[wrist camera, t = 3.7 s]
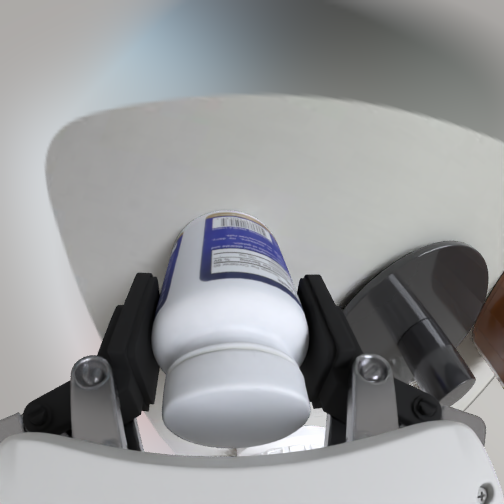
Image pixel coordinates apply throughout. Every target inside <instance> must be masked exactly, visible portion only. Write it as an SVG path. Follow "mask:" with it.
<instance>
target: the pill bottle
mask: <svg viewBox="0 0 504 504" xmlns="http://www.w3.org/2000/svg"><path fill="white" fill-rule="evenodd" d="M151 343H152V350H153V354H154V357H155V359H156V361H157V363H158V365H159V366H160V368H161V369H162V371H163V372H164V373H165V374H166V379H165V386H164V394H163V405H162V418H163V421H164V424H165V426H166V427H167V428H168V429H169V430H170V431H171V432H172V433H173V434H175V435H176V436H178V437H180V438H182V439H184V440H186V441H189V442H192V443H195V444H199V445H203V446H208V447H216V448H247V447H254V446H260V445H265V444H269V443H272V442H275V441H278V440H281V439H283V438H285V437H287V436H289V435H291V434H293V433H294V432H296V431H297V430H298V429H300V428H301V427H302V426H303V425H304V424H305V423H306V421H307V420H308V418H309V415H310V403H309V399H308V394H307V390H306V386H305V380H304V376H303V374H302V372H301V371H300V369H299V367H300V366H301V364H302V363H303V361H304V359H305V357H306V354H307V351H308V347H309V329H308V324H307V321H306V317H305V314H304V311H303V308H302V306H301V303H300V300H299V298H298V295H297V292H296V290H295V287H294V284H293V282H292V279H291V277H290V274H289V271H288V269H287V266H286V264H285V261H284V259H283V256H282V254H281V251H280V249H279V246H278V244H277V242H276V240H275V238H274V236H273V234H272V233H271V231H270V230H269V229H268V228H267V227H266V225H264V224H263V223H262V222H261V221H259V220H258V219H256V218H255V217H253V216H251V215H248V214H246V213H242V212H239V211H232V210H222V211H215V212H211V213H207V214H205V215H202V216H200V217H198V218H196V219H194V220H193V221H192V222H190V223H189V224H188V225H187V226H186V227H185V228H184V229H183V230H182V231H181V233H180V234H179V236H178V238H177V240H176V242H175V244H174V247H173V250H172V253H171V257H170V260H169V264H168V267H167V271H166V275H165V278H164V282H163V286H162V290H161V293H160V297H159V301H158V305H157V309H156V313H155V317H154V321H153V327H152V336H151Z"/></svg>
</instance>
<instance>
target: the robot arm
mask: <svg viewBox="0 0 504 504" xmlns="http://www.w3.org/2000/svg"><path fill="white" fill-rule="evenodd" d="M297 295H298V298H299V300H300V303H301V306H302V308H303V311H304V314H305V317H306V321H307V324H308V329H309V347H308V351H307V354H306V357H305V359H304V361H303V363H302V364H301V366H300V367H299V369H300V371H301V372H302V374H303V376H304V380H305V386H306V390H307V394H308V399H309V402H312V405H313V408H314V409H316V408H322V409H323V411H324V412H326V413H327V420H326V430H325V440H324V447H322V448H316V449H310V450H303V451H296V452H288V453H279V454H269V455H256V456H233V457H204V456H182V455H167V454H157V453H149V452H144V449H143V445H142V441H141V437H140V433H139V429H138V424H137V419H136V417H138V416H139V415H141V411H148V412H149V405H150V404H154V402H155V395H156V388H157V381H158V375H159V369H160V366H159V365H158V363H157V361H156V359H155V357H154V354H153V350H152V343H151V336H152V327H153V321H154V317H155V313H156V309H157V305H158V301H159V297H160V294H159V287H158V280H157V277H153V275H152V274H151V273H137V274H136V276H135V279H134V281H133V283H132V286H131V288H130V291H129V293H128V296H127V298H126V300H125V303H124V305H118V306H117V307H116V308H115V311H114V313H113V315H112V318H111V320H110V323H109V325H108V328H107V330H106V333H105V336H104V338H103V341H102V344H101V347H100V349H99V352H98V355H97V356H95V355H94V356H93V355H91V356H87V357H83V358H82V359H80V360H79V361H77V362H76V363H75V364H74V366H73V368H72V371H71V380H70V381H68V382H66V383H65V384H63V385H61V386H59V387H57V388H55V389H54V390H52V391H50V392H48V393H46V394H44V395H43V396H41V397H39V398H37V399H35V400H33V401H32V402H30V403H29V404H28V405H27V406H26V408H25V410H24V413H23V414H22V415H20V413H16V414H14V415H12V416H9V417H7V418H5V419H2V420H0V504H504V496H503V493H502V490H501V487H500V484H499V481H498V478H497V475H496V473H495V470H494V468H493V466H492V463H491V461H490V458H489V456H488V454H487V452H486V450H485V448H484V444H485V435H486V426H485V423H484V421H483V420H482V419H481V418H480V417H478V416H476V415H473V414H469V413H467V412H464V411H461V410H458V409H455V408H452V407H449V406H446V405H444V406H443V407H441V405H440V403H439V402H438V400H437V399H436V398H435V397H433V396H432V395H430V394H428V393H426V392H424V391H421V390H419V389H417V388H415V387H413V386H411V385H409V384H406V383H404V382H402V381H400V380H398V379H396V378H394V377H393V372H392V368H391V366H390V364H389V363H388V361H387V360H385V359H384V358H383V357H381V356H379V355H376V354H372V353H366V354H363V352H362V350H361V347H360V345H359V343H358V341H357V339H356V337H355V335H354V333H353V331H352V329H351V327H350V325H349V323H348V321H347V319H346V317H345V315H344V313H343V311H342V309H341V308H340V307H339V306H336V305H335V303H334V301H333V299H332V297H331V295H330V293H329V291H328V289H327V287H326V285H325V283H324V281H323V279H322V277H321V276H320V275H305V277H304V278H301V279H300V281H299V286H298V291H297Z"/></svg>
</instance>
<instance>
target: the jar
mask: <svg viewBox="0 0 504 504" xmlns="http://www.w3.org/2000/svg"><path fill="white" fill-rule="evenodd" d="M472 340H473V343H474V344H475V346H476V349H477V350H478V351H479V353H480V354H481V356H482V357H483V359H484V360H485V361H486V363H487V364H488V366H489V367H490V369H491V370H492V372H493V373H494V375H495V376H496V378H497V379H498V381H499V382H500V384H501V385H502V387H503V389H504V273H503V274H502V276H501V277H500V279H499V280H498V282H497V283H496V285H495V287H494V288H493V290H492V291H491V293H490V295H489V296H488V298H487V300H486V302H485V304H484V306H483V308H482V310H481V312H480V314H479V316H478V318H477V321H476V323H475V326H474V330H473V335H472Z"/></svg>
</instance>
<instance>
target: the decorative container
mask: <svg viewBox="0 0 504 504" xmlns="http://www.w3.org/2000/svg"><path fill="white" fill-rule="evenodd" d="M325 430H326V428H325V427H321V426H302V427H301V428H300V429H298V430H297V431H296V432H294V433H293V434H291V435H289V436H287V437H285V438H283V439H281V440H278V441H275V442H272V443H269V444H265V445H260V446H254V447H247V448H237V456H256V455H269V454H279V453H288V452H296V451H303V450H310V449H316V448H322V447H324V440H325Z"/></svg>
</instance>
